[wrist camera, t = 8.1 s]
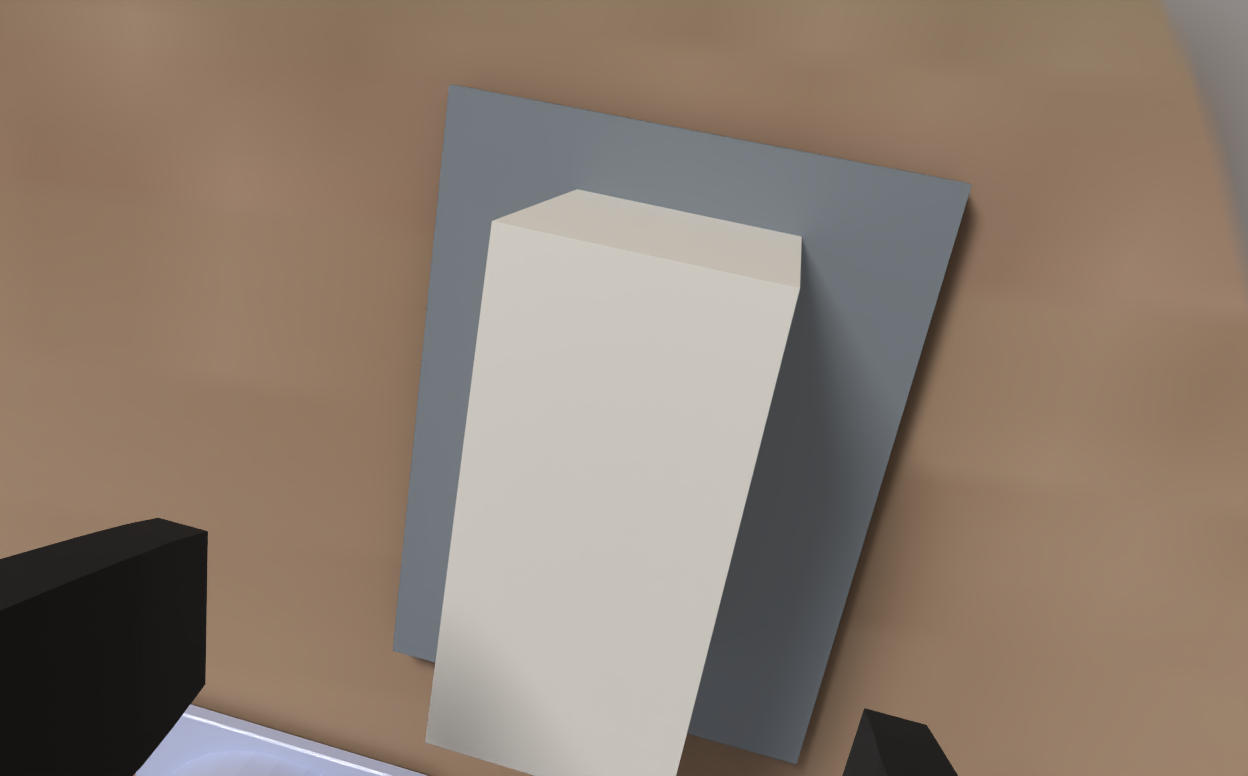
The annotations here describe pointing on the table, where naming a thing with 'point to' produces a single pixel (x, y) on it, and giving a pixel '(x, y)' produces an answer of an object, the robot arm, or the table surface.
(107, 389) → the table surface
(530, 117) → the mat
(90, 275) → the table surface
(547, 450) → the white rectangular block
